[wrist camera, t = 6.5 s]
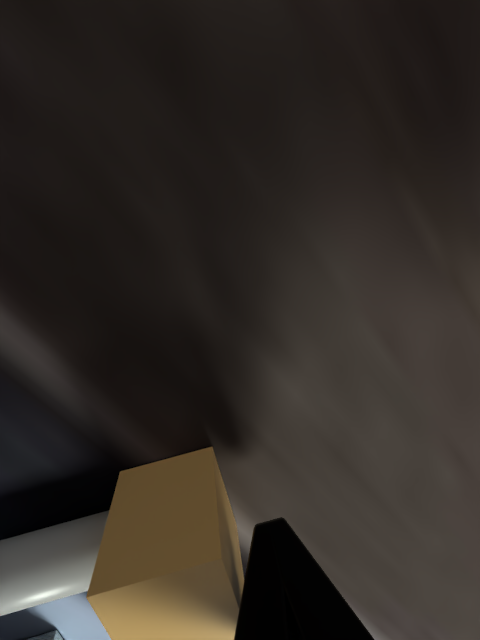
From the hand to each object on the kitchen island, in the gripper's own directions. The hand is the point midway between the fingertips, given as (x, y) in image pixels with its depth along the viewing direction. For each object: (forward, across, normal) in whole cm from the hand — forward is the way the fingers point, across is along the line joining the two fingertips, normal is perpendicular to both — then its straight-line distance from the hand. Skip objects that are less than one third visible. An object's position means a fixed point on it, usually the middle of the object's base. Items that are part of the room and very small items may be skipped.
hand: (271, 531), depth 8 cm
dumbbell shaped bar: (+2, +9, 0) cm, 9 cm away
